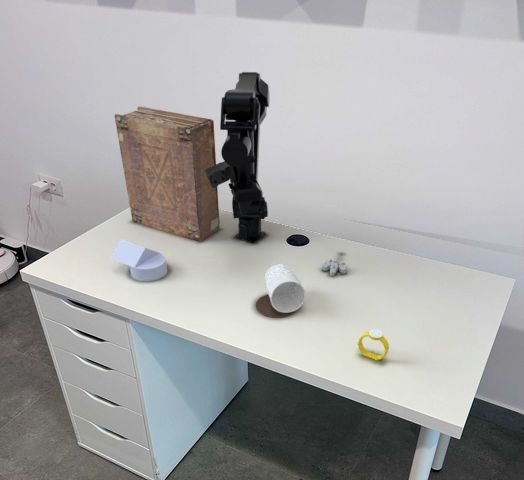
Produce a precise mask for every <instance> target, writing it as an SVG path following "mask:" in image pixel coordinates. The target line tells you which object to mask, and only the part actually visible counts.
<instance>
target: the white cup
mask: <svg viewBox="0 0 524 480" xmlns="http://www.w3.org/2000/svg"><path fill="white" fill-rule="evenodd" d="M264 283H265V287H266V292H267V295H269V298H270V301H271V304H272V306H273V307H274V308H275V309H276V310H277V311H279V312H282V313H289V312H293V311H295V310H296V311H297V310H299V309H300V308H301V307H302V306H303V304H304V302H305V300H306V296H307V295H306V294H307V293H306V289H305V287H304V286H303V284H302V283H301V281H300V280H299V278H298V277H297V276H296V274H295V273H294V272H293V270H292V269H291V268H290V267H289V266H288V265H286V264H283V263H278V264H274V265H272V266H270V267H269V268H268V269H267V270H266V271H265V274H264ZM296 311H295V312H296Z"/></svg>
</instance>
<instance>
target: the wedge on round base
mask: <svg viewBox="0 0 524 480" xmlns="http://www.w3.org/2000/svg"><path fill="white" fill-rule="evenodd" d="M109 259H110V260H113V261H115V262H118V263H120V264H123V265H126V266H128V267H129V270H130V276H131V277H132V278H133V279H134V280H136V281H138V282H139V281H140V282H153V281H157V280H160V279H162V278H164V277H165V276H166V275H167V273H168V265H167V258H166V256H165V255H164V254H163V253H161V252H158V251H156V250H153V249H150V248H147V247H144V246H143V245H138V244H136V243H134V242H130V241H127V240H124V239H122V238H121V239H119V242H118V243H117V244H116V247H115V248H114V250H113V252H112V254H111V255H110V256H109Z"/></svg>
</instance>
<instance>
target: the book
mask: <svg viewBox="0 0 524 480" xmlns="http://www.w3.org/2000/svg"><path fill="white" fill-rule="evenodd" d="M136 109H137V110H133V111H130V112H127V113H125V114H119V113H115V114H114V121H115V126H116V134H117V139H118V144H119V151H120V156H121V162H122V167H123V174H124V179H125V180H124V181H125V186H126V191H127V196H128V203H129V209H130V215H131V220H132V222H133V223H135V224H139V225H141V226H145V227H149V228H151V229H152V228H153V229H156V230H159V231H163V232H166V233H170V234H173V235H175V236H180V237H183V238H187V239H189V240H193V241H196V242H202V241H203V240H205V239H206V238H207V237H208V238H209V236H211V235H212V234H214V233H216V232H217V231H218V230H220V229H221V228H220V227H221V225H220V211H219V210H220V209H219V208H220V207H219V194H218V193H219V192H218V186H217V187H215V188H212V187H211V184H210V182H209V180H208V178H207V176H206V172H205V170H206V169H207V168H209V167H212V166H214V165H216V164H217V157H216V139H215V122H214V119H212V118H211V119H210V118H206V117H200V116H195V115H189V114H184V113H178V112H174V111H167V110H163V109H156V108H150V107H145V106H137V107H136Z"/></svg>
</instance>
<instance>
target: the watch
mask: <svg viewBox="0 0 524 480" xmlns="http://www.w3.org/2000/svg"><path fill="white" fill-rule="evenodd" d="M366 337H368V338H369V339H370V340H373V341H380V343H381V344H382V346H383V348H384V351H383V354H376V353H372V352H371V351H368V350H367V349H366V348H365V346H364V344H363V339H364V338H366ZM357 347H358V351H359V352H360V353H361V354H362V356H365V357H367V358H370V359H372V360H374V361H379V360H382V359H384V358H385V357H386V356H387V354H388V353H389V350H390V349H389V348H390V344H389V342H388V340H387V338H386V337H385V336H384V333H383V332H382V330H380V329H378V328H373V329H370V330H369V331H365V332H364V333H362V334H361V336H359V339H358V341H357Z"/></svg>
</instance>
